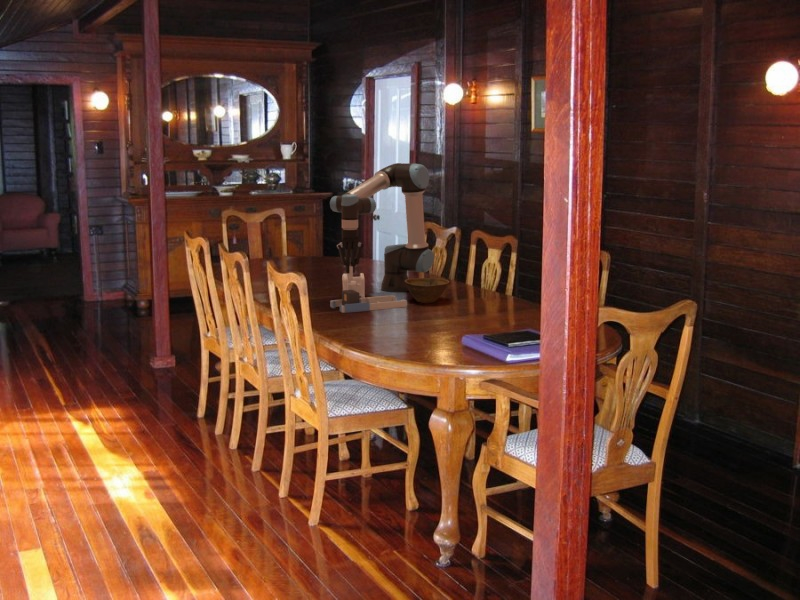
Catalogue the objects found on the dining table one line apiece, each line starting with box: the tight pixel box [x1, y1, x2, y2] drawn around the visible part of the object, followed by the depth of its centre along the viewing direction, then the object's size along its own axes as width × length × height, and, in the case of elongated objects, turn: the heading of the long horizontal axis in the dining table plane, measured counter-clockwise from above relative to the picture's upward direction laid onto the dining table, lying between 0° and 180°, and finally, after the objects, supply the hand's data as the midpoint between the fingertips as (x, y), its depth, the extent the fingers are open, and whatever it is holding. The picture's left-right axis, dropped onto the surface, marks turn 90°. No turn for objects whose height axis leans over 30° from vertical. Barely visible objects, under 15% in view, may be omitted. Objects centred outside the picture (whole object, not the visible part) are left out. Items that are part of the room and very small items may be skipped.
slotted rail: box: [329, 294, 408, 314], centre depth 428 cm, size 32×16×4 cm, turn 115°
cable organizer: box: [341, 272, 366, 298], centre depth 449 cm, size 15×11×12 cm
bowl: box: [405, 277, 450, 304], centre depth 441 cm, size 22×23×10 cm
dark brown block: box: [341, 289, 360, 306], centre depth 424 cm, size 5×9×8 cm, turn 25°
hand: (350, 280), depth 422 cm, fingers closed
